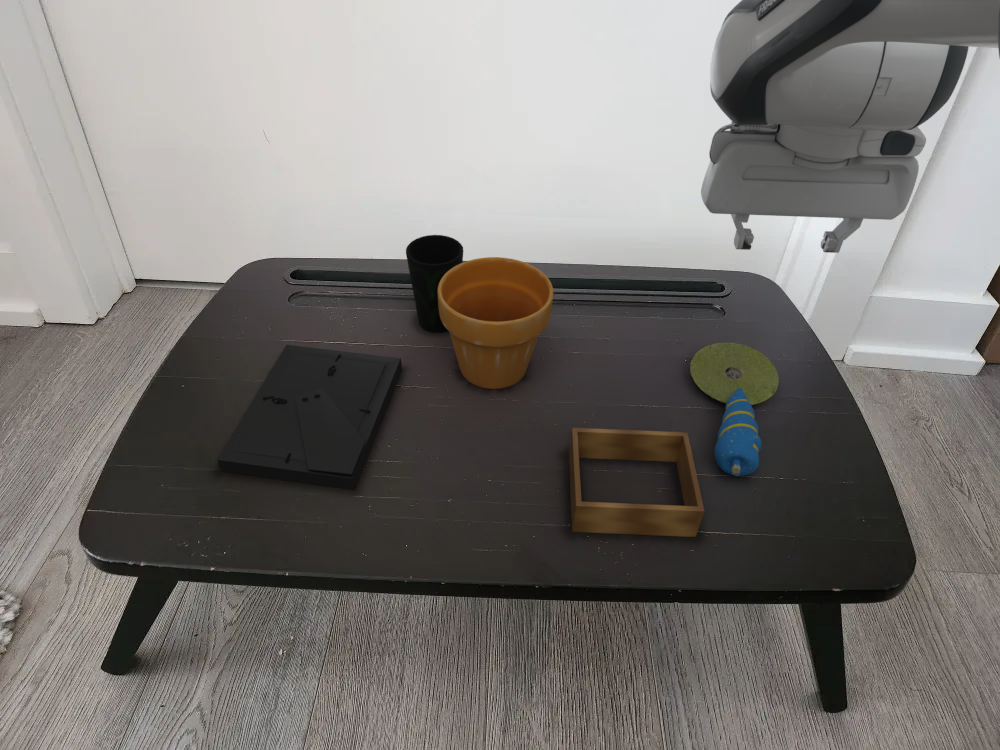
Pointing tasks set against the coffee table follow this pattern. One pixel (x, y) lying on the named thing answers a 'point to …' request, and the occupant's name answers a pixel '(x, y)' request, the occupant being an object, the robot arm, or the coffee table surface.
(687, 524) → the wooden box
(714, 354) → the green flat round disc
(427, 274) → the cup
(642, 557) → the coffee table surface
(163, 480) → the coffee table surface
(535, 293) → the flower pot
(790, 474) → the coffee table surface
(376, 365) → the picture frame
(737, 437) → the ornament
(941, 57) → the robot arm
